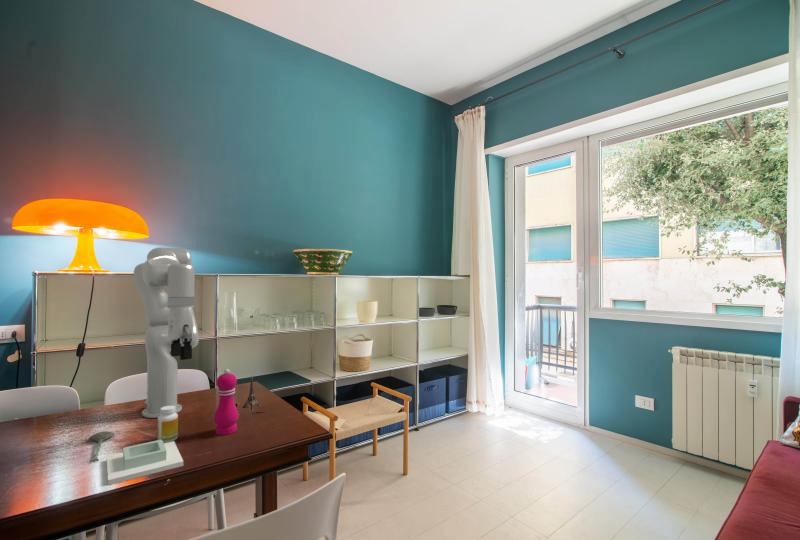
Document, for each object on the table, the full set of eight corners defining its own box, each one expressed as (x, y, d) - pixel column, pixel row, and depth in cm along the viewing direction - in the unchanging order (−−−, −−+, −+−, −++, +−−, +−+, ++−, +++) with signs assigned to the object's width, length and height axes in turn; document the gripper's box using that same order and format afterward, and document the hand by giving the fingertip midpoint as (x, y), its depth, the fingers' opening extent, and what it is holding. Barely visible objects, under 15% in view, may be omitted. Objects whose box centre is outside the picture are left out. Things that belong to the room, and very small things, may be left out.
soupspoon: (116, 436, 127) (90, 441, 124) (116, 425, 127) (90, 430, 124) (109, 461, 108) (78, 468, 105) (108, 448, 108) (77, 455, 105)
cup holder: (108, 485, 95) (108, 469, 95) (106, 460, 108) (106, 446, 108) (183, 465, 105) (183, 451, 105) (174, 445, 117) (174, 432, 117)
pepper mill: (229, 436, 124) (229, 372, 124) (208, 434, 125) (209, 371, 125) (243, 427, 131) (243, 366, 131) (223, 426, 132) (223, 365, 132)
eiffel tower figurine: (235, 405, 156) (235, 370, 156) (262, 401, 160) (262, 368, 160) (236, 417, 142) (236, 379, 142) (266, 413, 146) (266, 376, 146)
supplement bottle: (182, 437, 123) (182, 405, 123) (166, 444, 118) (166, 411, 118) (168, 435, 125) (169, 403, 125) (153, 441, 120) (153, 409, 120)
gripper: (160, 303, 129) (160, 356, 129) (175, 303, 117) (175, 362, 116) (185, 302, 135) (185, 353, 134) (203, 302, 122) (203, 358, 122)
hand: (181, 357), depth 125 cm, fingers open, 9 cm apart
